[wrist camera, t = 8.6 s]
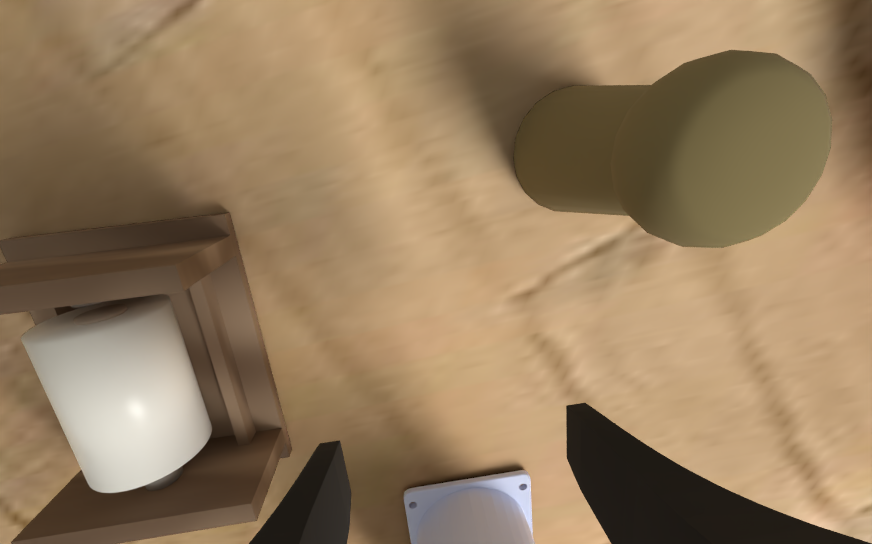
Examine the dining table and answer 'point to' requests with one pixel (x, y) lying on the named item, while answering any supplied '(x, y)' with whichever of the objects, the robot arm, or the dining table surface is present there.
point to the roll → (121, 389)
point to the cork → (683, 148)
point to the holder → (209, 354)
